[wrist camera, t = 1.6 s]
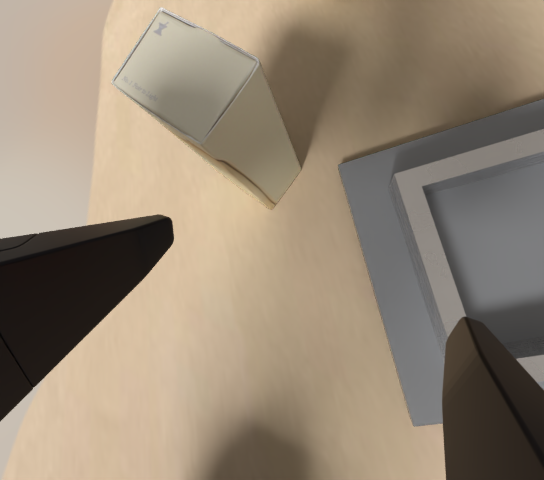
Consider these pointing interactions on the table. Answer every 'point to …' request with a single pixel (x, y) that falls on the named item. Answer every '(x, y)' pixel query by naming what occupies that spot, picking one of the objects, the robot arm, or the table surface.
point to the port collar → (426, 243)
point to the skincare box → (212, 103)
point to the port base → (454, 248)
